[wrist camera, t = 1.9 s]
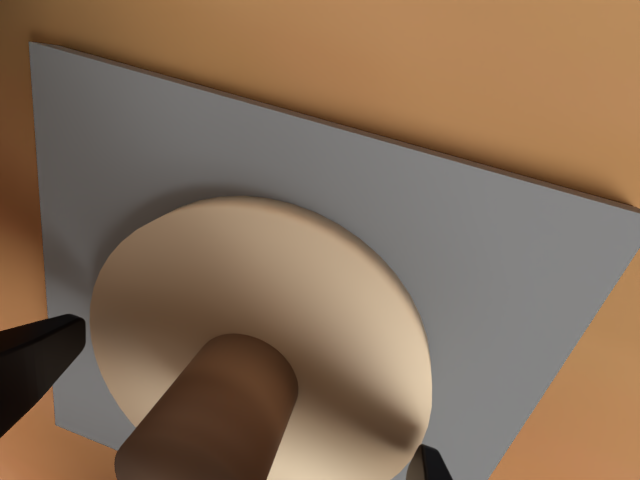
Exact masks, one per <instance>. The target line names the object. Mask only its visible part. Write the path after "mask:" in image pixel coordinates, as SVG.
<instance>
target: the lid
mask: <svg viewBox="0 0 640 480" xmlns="http://www.w3.org/2000/svg"><path fill="white" fill-rule="evenodd" d="M89 323H90V333H91V341H92V346H93V350H94V354H95V358H96V361H97V364H98V366H99V369H100V372H101V375H102V377H103V379H104V381H105V383H106V385H107V387H108V389H109V391H110V393H111V394H112V396H113V398H114V399H115V401H116V402H117V404H118V406H119V407H120V409H121V410H122V411H123V412H124V414H125V415H126V416H127V418H128V419H129V420H130V422H131V423H132V424H133V425H134V426H135V427H136V428H135V430H134V431H133V432H132V433H131V435H130V436H129V437H128V438H127V439H126V441H125V442H124V443H123V444H122V445H121V447H120V448H119V450H118V452H117V454H116V457H115V464H114V465H115V473H116V477H117V480H391V479H392V478H393V477H395V476H396V475H397V474H398V473H400V472H401V471H402V469H403V468H404V467H405V466H406V465H407V464H408V463H409V462H410V460H411V459H412V458H413V456H414V454H415V452H416V450H417V448H418V446H419V445H420V444H421V443H422V440H423V438H424V435H425V433H426V430H427V428H428V424H429V419H430V414H431V408H432V377H431V360H430V352H429V346H428V339H427V335H426V332H425V329H424V325H423V322H422V319H421V316H420V314H419V312H418V310H417V308H416V306H415V304H414V302H413V300H412V298H411V296H410V294H409V293H408V291H407V290H406V288H405V287H404V285H403V284H402V282H401V281H400V279H399V278H398V276H397V275H396V274H395V273H394V271H393V270H392V269H391V268H390V267H389V266H388V265H387V264H386V262H385V261H384V260H383V259H382V258H381V257H380V256H379V255H378V254H377V253H376V252H375V251H373V250H372V249H371V248H370V247H369V246H368V245H367V244H366V243H364V242H363V241H362V240H361V239H360V238H358V237H357V236H355V235H354V234H352V233H351V232H349V231H348V230H346V229H345V228H343V227H342V226H341V225H339V224H337V223H335V222H333V221H331V220H329V219H327V218H325V217H324V216H322V215H320V214H318V213H316V212H313V211H310V210H307V209H305V208H302V207H299V206H297V205H294V204H291V203H287V202H282V201H278V200H274V199H269V198H262V197H252V196H222V197H216V198H210V199H205V200H199V201H196V202H193V203H191V204H188V205H185V206H182V207H179V208H177V209H175V210H173V211H171V212H169V213H167V214H165V215H163V216H161V217H159V218H157V219H155V220H154V221H152V222H150V223H148V224H146V225H144V226H142V227H141V228H139V229H137V230H136V231H134V232H133V233H132V234H131V235H129V236H128V237H127V238H126V239H124V240H123V241H122V242H121V243H120V244H119V245H118V246H117V247H116V249H115V250H114V251H113V252H112V253H111V254H110V255H109V257H108V259H107V260H106V262H105V264H104V265H103V267H102V269H101V270H100V272H99V275H98V278H97V280H96V283H95V285H94V288H93V293H92V298H91V303H90V321H89Z"/></svg>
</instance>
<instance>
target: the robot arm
mask: <svg viewBox="0 0 640 480" xmlns="http://www.w3.org/2000/svg"><path fill="white" fill-rule="evenodd" d="M85 344H86V322H85V320H84V318H82V317H79V316H76V315H74V314H64V315H60V316H56V317H53V318H49V319H45V320H41V321H37V322H34V323H30V324H26V325H22V326H18V327H14V328H11V329H7V330H3V331H0V438H1V437H2V436H3V435H4V434H5V433H6V432H7V431H8V430H9V429H10V428H11V427H12V426H13V425H14V424H15V423H16V422H17V421H19V420H20V419H21V418H22V417H23V416H24V415H25V414H26V413H27V412H28V411H29V410H30V409H31V408H32V407H33V406H34V405H35V404H36V403H37V402H38V401H39V400H40V399H41V398H42V397H43V396H44V394H45V393H46V392H47V391H48V390H49V389H50V388H51V387H52V385H53V384H54V383H55V382H56V381H57V380H58V378H59V377H60V376H61V375H62V374H63V373H64V372H65V370H66V369H67V368H68V367H69V366H70V365H71V364H72V362H73V361H74V360H75V359H76V358H77V357H78V356H79V354H80V353H81V352H82V351H83V349H84V347H85ZM406 480H453V478H452V476H451V474H450V472H449V470H448V468H447V466H446V464H445V462H444V460H443V458H442V456H441V454H440V452H439V451H438V450H437V449H435V448H433V447H430V446H428V445H425V444H420V445H419V446H418V448H417V450H416V452H415V454H414V456H413V458H412V460H411V462H410V464H409V466H408V469H407V474H406Z"/></svg>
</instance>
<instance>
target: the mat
mask: <svg viewBox="0 0 640 480" xmlns="http://www.w3.org/2000/svg"><path fill="white" fill-rule="evenodd" d="M29 54H30V68H31V83H32V97H33V111H34V125H35V140H36V154H37V168H38V182H39V197H40V211H41V225H42V240H43V254H44V268H45V282H46V297H47V311H48V319H49V318H53V317H56V316H60V315H64V314H74V315H76V316H79V317H82V318H84V320H85V322H86V344H85V347H84V349H83V351H82V352H81V353H80V354H79V356H78V357H77V358H76V359H75V360H74V361H73V362H72V364H71V365H70V366H69V367H68V368H67V369H66V370H65V372H64V373H63V374H62V375H61V376H60V377H59V378H58V380H57V381H56V382H55V383H54V384H53V397H54V411H55V425H56V426H59V427H61V428H64V429H66V430H69V431H71V432H73V433H76V434H78V435H81V436H83V437H86V438H88V439H90V440H93V441H95V442H98V443H100V444H103V445H105V446H107V447H110V448H112V449H115V450H117V451H118V450H119V448H120V447H121V445H122V444H123V443H124V442H125V441H126V439H127V438H128V437H129V436H130V435H131V433H132V432H133V431H134V430H135V428H136V427H135V426H134V425H133V424H132V423H131V422H130V420H129V419H128V418H127V416H126V415H125V414H124V412H123V411H122V410H121V409H120V407H119V406H118V404H117V402H116V401H115V399H114V398H113V396H112V394H111V393H110V391H109V389H108V387H107V385H106V383H105V381H104V379H103V377H102V375H101V372H100V369H99V366H98V364H97V361H96V358H95V354H94V350H93V346H92V341H91V333H90V323H89V321H90V303H91V298H92V293H93V288H94V285H95V283H96V280H97V278H98V275H99V272H100V270H101V269H102V267H103V265H104V264H105V262H106V260H107V259H108V257H109V255H110V254H111V253H112V252H113V251H114V250H115V249H116V247H117V246H118V245H119V244H120V243H121V242H122V241H123V240H124V239H126V238H127V237H128V236H129V235H131V234H132V233H133V232H134V231H136V230H137V229H139V228H141V227H142V226H144V225H146V224H148V223H150V222H152V221H154V220H155V219H157V218H159V217H161V216H163V215H165V214H167V213H169V212H171V211H173V210H175V209H177V208H179V207H182V206H185V205H188V204H191V203H193V202H196V201H199V200H205V199H210V198H216V197H222V196H252V197H262V198H269V199H274V200H278V201H282V202H287V203H291V204H294V205H297V206H299V207H302V208H305V209H307V210H310V211H313V212H316V213H318V214H320V215H322V216H324V217H325V218H327V219H329V220H331V221H333V222H335V223H337V224H339V225H341V226H342V227H343V228H345V229H346V230H348V231H349V232H351V233H352V234H354V235H355V236H357V237H358V238H360V239H361V240H362V241H363V242H364V243H366V244H367V245H368V246H369V247H370V248H371V249H372V250H373V251H375V252H376V253H377V254H378V255H379V256H380V257H381V258H382V259H383V260H384V261H385V262H386V264H387V265H388V266H389V267H390V268H391V269H392V270H393V271H394V273H395V274H396V275H397V276H398V278H399V279H400V281H401V282H402V284H403V285H404V287H405V288H406V290H407V291H408V293H409V294H410V296H411V298H412V300H413V302H414V304H415V306H416V308H417V310H418V312H419V314H420V316H421V319H422V322H423V325H424V329H425V332H426V335H427V339H428V346H429V352H430V360H431V377H432V408H431V414H430V419H429V424H428V428H427V430H426V433H425V435H424V438H423V440H422V443H421V444H425V445H428V446H430V447H433V448H435V449H437V450H438V451H439V452H440V454H441V456H442V458H443V460H444V462H445V464H446V466H447V468H448V470H449V472H450V474H451V476H452V478H453V480H488V478H489V477H490V475H491V474H492V472H493V471H494V469H495V468H496V466H497V465H498V463H499V462H500V460H501V459H502V457H503V456H504V454H505V453H506V451H507V449H508V448H509V446H510V445H511V443H512V442H513V440H514V439H515V437H516V436H517V434H518V433H519V431H520V430H521V428H522V427H523V425H524V424H525V422H526V420H527V419H528V417H529V416H530V414H531V413H532V411H533V410H534V408H535V407H536V405H537V404H538V402H539V401H540V399H541V398H542V396H543V395H544V393H545V391H546V390H547V388H548V387H549V385H550V384H551V382H552V381H553V379H554V378H555V376H556V375H557V373H558V372H559V370H560V369H561V367H562V366H563V364H564V362H565V361H566V359H567V358H568V356H569V355H570V353H571V352H572V350H573V349H574V347H575V346H576V344H577V343H578V341H579V340H580V338H581V337H582V335H583V333H584V332H585V330H586V329H587V327H588V326H589V324H590V323H591V321H592V320H593V318H594V317H595V315H596V314H597V312H598V311H599V309H600V308H601V306H602V304H603V303H604V301H605V300H606V298H607V297H608V295H609V294H610V292H611V291H612V289H613V288H614V286H615V285H616V283H617V282H618V280H619V279H620V277H621V275H622V274H623V272H624V271H625V269H626V268H627V266H628V265H629V263H630V262H631V260H632V259H633V257H634V256H635V254H636V253H637V251H638V250H639V248H640V209H639V208H637V207H634V206H630V205H626V204H623V203H619V202H616V201H612V200H609V199H605V198H601V197H598V196H594V195H591V194H587V193H584V192H580V191H576V190H573V189H569V188H566V187H562V186H559V185H555V184H551V183H548V182H544V181H541V180H537V179H534V178H530V177H526V176H523V175H519V174H516V173H512V172H509V171H505V170H501V169H498V168H494V167H491V166H487V165H484V164H480V163H477V162H473V161H469V160H466V159H462V158H459V157H455V156H452V155H448V154H444V153H441V152H437V151H434V150H430V149H427V148H423V147H419V146H416V145H412V144H409V143H405V142H402V141H398V140H394V139H391V138H387V137H384V136H380V135H377V134H373V133H369V132H366V131H362V130H359V129H355V128H352V127H348V126H344V125H341V124H337V123H334V122H330V121H327V120H323V119H319V118H316V117H312V116H309V115H305V114H302V113H298V112H295V111H291V110H287V109H284V108H280V107H277V106H273V105H270V104H266V103H262V102H259V101H255V100H252V99H248V98H245V97H241V96H237V95H234V94H230V93H227V92H223V91H220V90H216V89H212V88H209V87H205V86H202V85H198V84H195V83H191V82H187V81H184V80H180V79H177V78H173V77H170V76H166V75H162V74H159V73H155V72H152V71H148V70H145V69H141V68H137V67H134V66H130V65H127V64H123V63H120V62H116V61H112V60H109V59H105V58H102V57H98V56H95V55H91V54H88V53H84V52H80V51H77V50H73V49H70V48H66V47H63V46H59V45H53V44H45V43H38V42H30V41H29ZM411 460H412V459H411ZM411 460H410V462H411ZM410 462H409V463H408V464H407V465H406V466H405V467H404V468H403V469H402V471H401V472H400V473H398V474H397V475H396V476H395V477H393V478H392V479H391V480H406V474H407V469H408V466H409V464H410Z"/></svg>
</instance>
